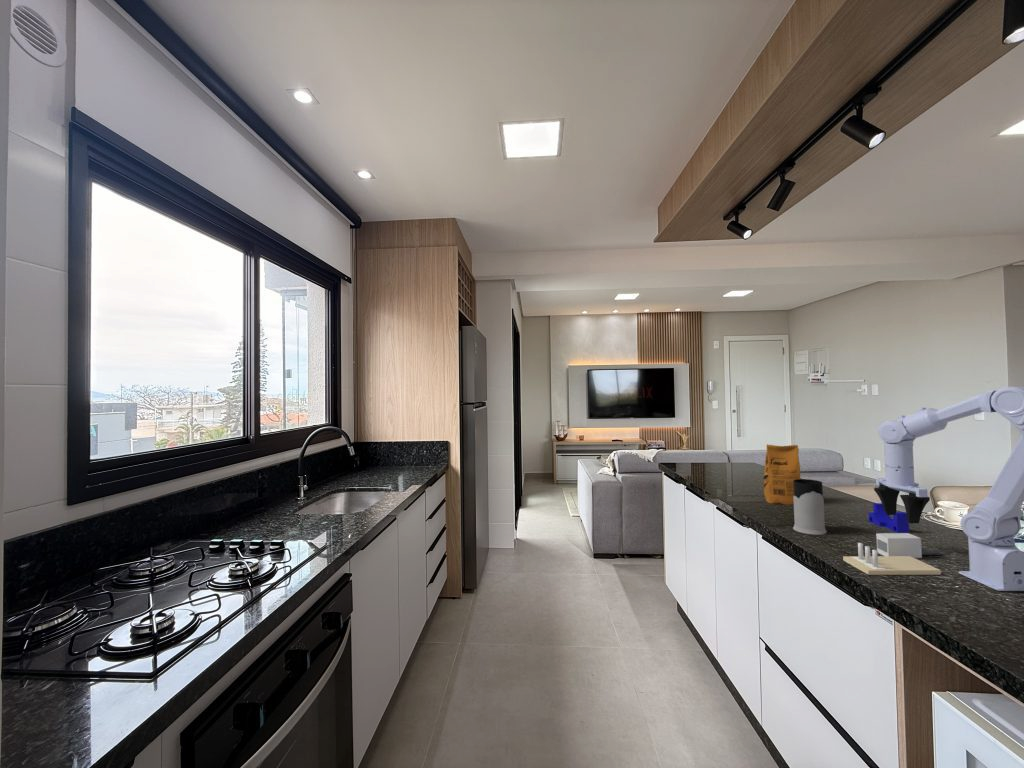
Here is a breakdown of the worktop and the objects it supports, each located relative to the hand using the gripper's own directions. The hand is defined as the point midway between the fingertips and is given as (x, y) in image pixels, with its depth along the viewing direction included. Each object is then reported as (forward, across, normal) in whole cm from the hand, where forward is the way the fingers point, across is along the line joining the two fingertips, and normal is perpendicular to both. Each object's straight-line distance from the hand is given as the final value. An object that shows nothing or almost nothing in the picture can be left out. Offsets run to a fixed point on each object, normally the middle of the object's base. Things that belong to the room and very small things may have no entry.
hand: (901, 518), depth 117 cm
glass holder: (+10, +24, +11) cm, 28 cm away
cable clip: (+10, +24, -13) cm, 29 cm away
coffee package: (+10, +56, +2) cm, 57 cm away
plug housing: (+9, 0, -2) cm, 10 cm away
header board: (+9, -8, +9) cm, 15 cm away
